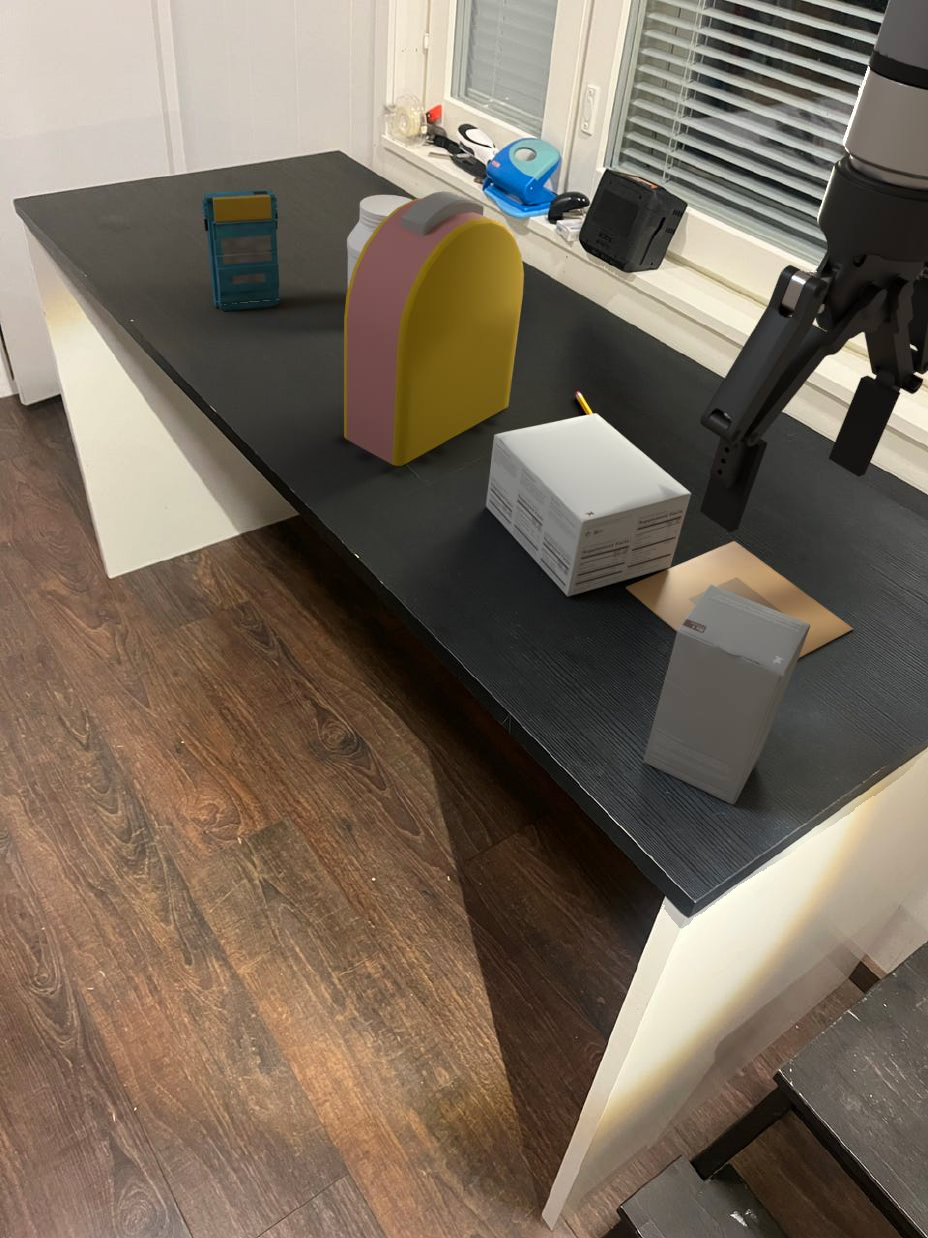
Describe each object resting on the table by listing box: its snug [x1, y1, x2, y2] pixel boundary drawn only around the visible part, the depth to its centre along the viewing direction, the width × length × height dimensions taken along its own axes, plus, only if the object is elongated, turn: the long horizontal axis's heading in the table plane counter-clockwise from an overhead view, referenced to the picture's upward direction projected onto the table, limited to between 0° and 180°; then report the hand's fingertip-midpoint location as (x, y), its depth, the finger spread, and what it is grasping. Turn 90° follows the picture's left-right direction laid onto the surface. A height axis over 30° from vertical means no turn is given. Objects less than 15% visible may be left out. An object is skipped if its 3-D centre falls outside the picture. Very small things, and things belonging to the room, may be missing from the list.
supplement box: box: [485, 413, 692, 597], centre depth 98 cm, size 17×13×9 cm
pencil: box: [574, 391, 594, 415], centre depth 118 cm, size 1×13×1 cm, turn 13°
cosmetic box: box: [642, 584, 810, 805], centre depth 74 cm, size 8×7×16 cm
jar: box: [346, 194, 413, 288], centre depth 132 cm, size 12×10×15 cm
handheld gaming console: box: [201, 189, 280, 312], centre depth 130 cm, size 10×4×15 cm, turn 113°
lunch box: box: [343, 190, 525, 467], centre depth 107 cm, size 21×9×26 cm, turn 140°
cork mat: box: [625, 540, 854, 660], centre depth 94 cm, size 16×16×1 cm
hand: (785, 492), depth 66 cm, fingers open, 13 cm apart
